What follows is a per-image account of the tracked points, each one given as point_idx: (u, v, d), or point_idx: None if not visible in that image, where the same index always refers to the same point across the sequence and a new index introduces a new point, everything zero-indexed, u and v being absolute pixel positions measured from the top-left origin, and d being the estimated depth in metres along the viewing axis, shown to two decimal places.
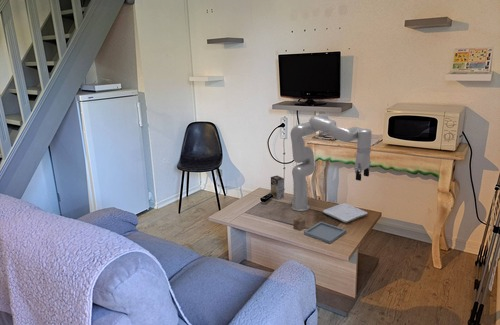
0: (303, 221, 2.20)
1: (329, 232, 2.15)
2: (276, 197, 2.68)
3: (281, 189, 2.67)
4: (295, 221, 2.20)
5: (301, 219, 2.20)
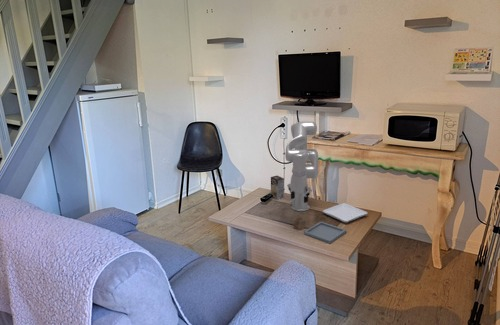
0: (303, 221, 2.20)
1: (329, 232, 2.15)
2: (276, 197, 2.68)
3: (281, 189, 2.67)
4: (295, 221, 2.20)
5: (301, 219, 2.20)
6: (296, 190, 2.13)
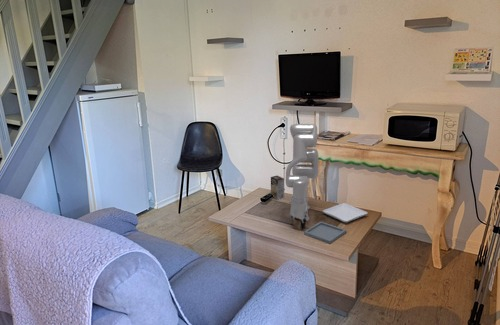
0: None
1: (329, 232, 2.15)
2: (276, 197, 2.68)
3: (281, 189, 2.67)
4: (295, 221, 2.20)
5: None
6: (296, 216, 2.18)
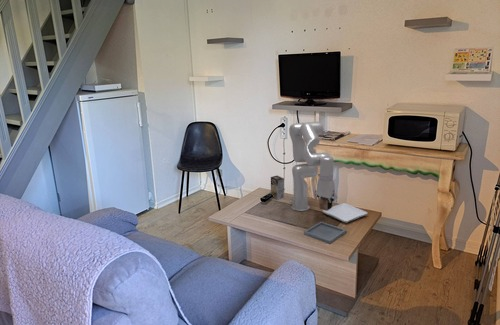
0: None
1: (329, 232, 2.15)
2: (276, 197, 2.68)
3: (281, 189, 2.67)
4: (321, 201, 2.08)
5: None
6: (323, 195, 2.06)
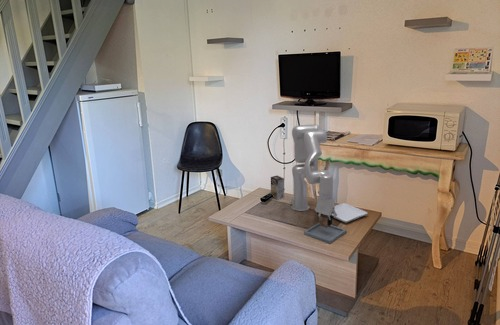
0: None
1: (329, 232, 2.15)
2: (276, 197, 2.68)
3: (281, 189, 2.67)
4: (321, 218, 2.10)
5: None
6: (323, 212, 2.09)
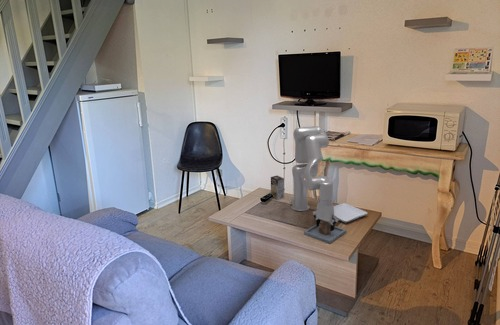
0: (329, 225, 2.12)
1: None
2: (276, 197, 2.68)
3: (281, 189, 2.67)
4: (321, 225, 2.12)
5: (327, 223, 2.12)
6: (322, 218, 2.10)
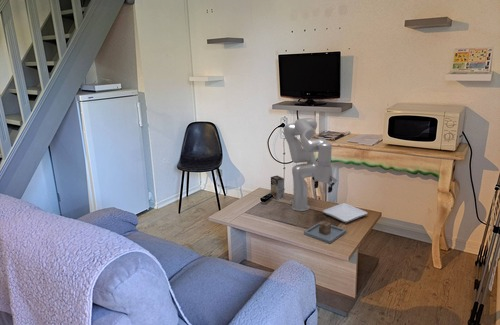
0: (329, 225, 2.12)
1: None
2: (276, 197, 2.68)
3: (281, 189, 2.67)
4: (321, 225, 2.12)
5: (327, 223, 2.12)
6: (320, 180, 2.13)
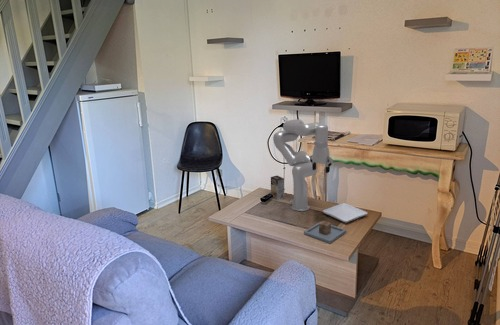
0: (329, 225, 2.12)
1: None
2: (276, 197, 2.68)
3: (281, 189, 2.67)
4: (321, 225, 2.12)
5: (327, 223, 2.12)
6: (318, 161, 2.22)
